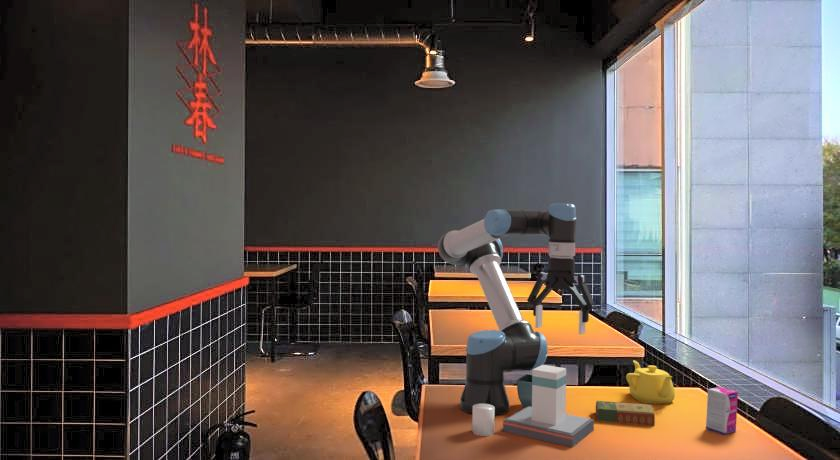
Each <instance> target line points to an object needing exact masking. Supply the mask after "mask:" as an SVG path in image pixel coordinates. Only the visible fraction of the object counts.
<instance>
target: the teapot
mask: <svg viewBox="0 0 840 460" xmlns="http://www.w3.org/2000/svg"><path fill="white" fill-rule="evenodd" d="M632 362H633V365H634V372H632V373H631V372H629V373H627V374H626V376H625V377H626V381H627V383H628V385H629V392H630V394H631V396H632V397H633V398H634V399H635V400H637V401H640V402H643V403H644V404H648V405H663V404H664V403H665V404H671V403H672V402H673V401H674V399H675V396H676V395H675V388H674V387H675V386H674V384H673V381H672V378H673V376H672V375H670V374H669V373H668V372H667V371H665V370H663V369H659V368H658V367H657V366H656V365H650V364H649V365H647V367H643V368H642V367H641V365H640V363H639V362H638V361H637V360H632Z"/></svg>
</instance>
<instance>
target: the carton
mask: <svg viewBox="0 0 840 460" xmlns="http://www.w3.org/2000/svg"><path fill="white" fill-rule="evenodd" d="M595 417H596V421H597V422H607V423H608V422H609V423H620V424H629V425H641V426H650V425H651V426H653V427H655V421H656V420H655V418H656V417H655V411H654V408H653V407H652V404H649V403H630V402H621V401H620V402H619V401H605V400H596V403H595Z"/></svg>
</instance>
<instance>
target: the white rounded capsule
mask: <svg viewBox="0 0 840 460" xmlns="http://www.w3.org/2000/svg"><path fill="white" fill-rule="evenodd" d="M495 416H496V415H495V407H494V406H493V405H490V404H475V405H473V414H472V416H471V417H472V418H471V419H472V420H471V421H472V422H471V424H472V426H471V428H472V430H471V431H472V432H473V433H474V434H473V433H472V434H473V435H475V434H476V436H479V435H480V436H479V437H490V436H493V435H494V434H495Z"/></svg>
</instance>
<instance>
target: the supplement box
mask: <svg viewBox="0 0 840 460" xmlns="http://www.w3.org/2000/svg"><path fill="white" fill-rule="evenodd" d="M738 394H739V392H738V391H736V390H733V389H728V388H725V387H721V386H718V387H713V388H712V387H711V388H707V403H706V404H707V405H706V418H705V419H706V421H705V429H706V430H708V431H711V432H715V433H718V434H721V435H727V434H731V433H735V432H736V431H737V415H738V398H739V396H738Z"/></svg>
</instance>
